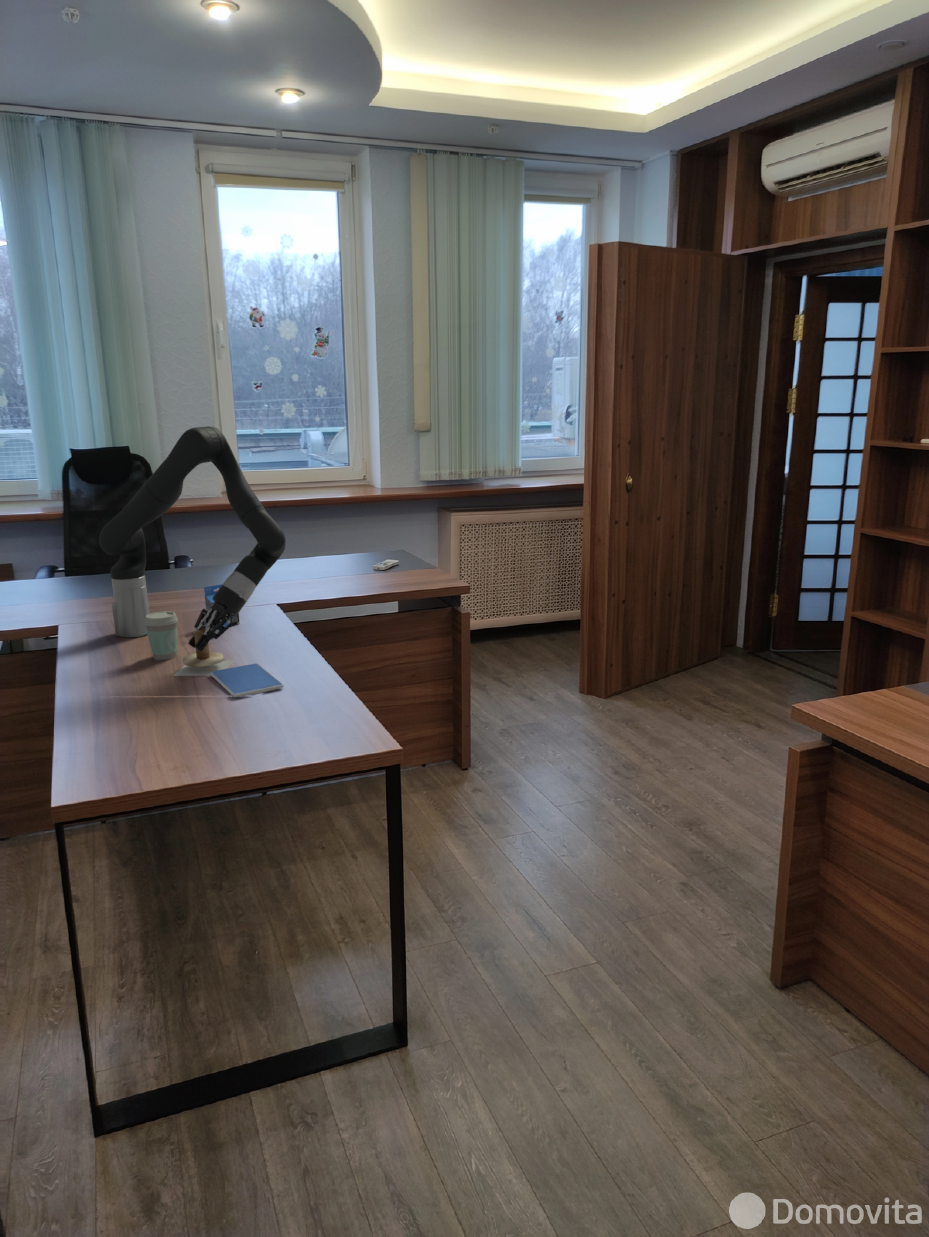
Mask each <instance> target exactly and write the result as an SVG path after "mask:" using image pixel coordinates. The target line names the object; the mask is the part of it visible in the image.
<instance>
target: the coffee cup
mask: <svg viewBox="0 0 929 1237" xmlns="http://www.w3.org/2000/svg"><path fill="white" fill-rule="evenodd" d="M149 613H150V612H149ZM178 621H179V619H178V617H177V614H176V613H175V612H174V611H169V610H168V611H164V610H163V611H155V612H151V613H150V614H148V615H146V617H145V621H144V622H145V623H144V624H145V625H146V628H147V633H148V634H147V638H148V641H149V644H150V649H151V654H152V657H153V659H154V660H156V661H168V660H172V659H175V658H176V657H177V656H178V655H177V654H178V653H177V652H178V645H177V644H178Z"/></svg>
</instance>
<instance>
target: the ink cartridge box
mask: <svg viewBox="0 0 929 1237" xmlns="http://www.w3.org/2000/svg"><path fill="white" fill-rule="evenodd" d="M222 584H223V583H222ZM222 584H216V585H215V584H214V585H210V586H205V587H203V591H204V601H205V602H204V604H205V605H204V606H205V609H206V610H209V609H210V608H211V607H212V606H213V605H214V604H215V602H214V601H213V596H214V595H215V594H216V592H217V591H218V590H217V589H219V588H220V587H221V586H222ZM229 621H231V622H232V626H235V625H240V622H241V621H240V612H239V613H238V614H237V615H233V614H231V616H230V619H229ZM207 624H208V623H207Z"/></svg>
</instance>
